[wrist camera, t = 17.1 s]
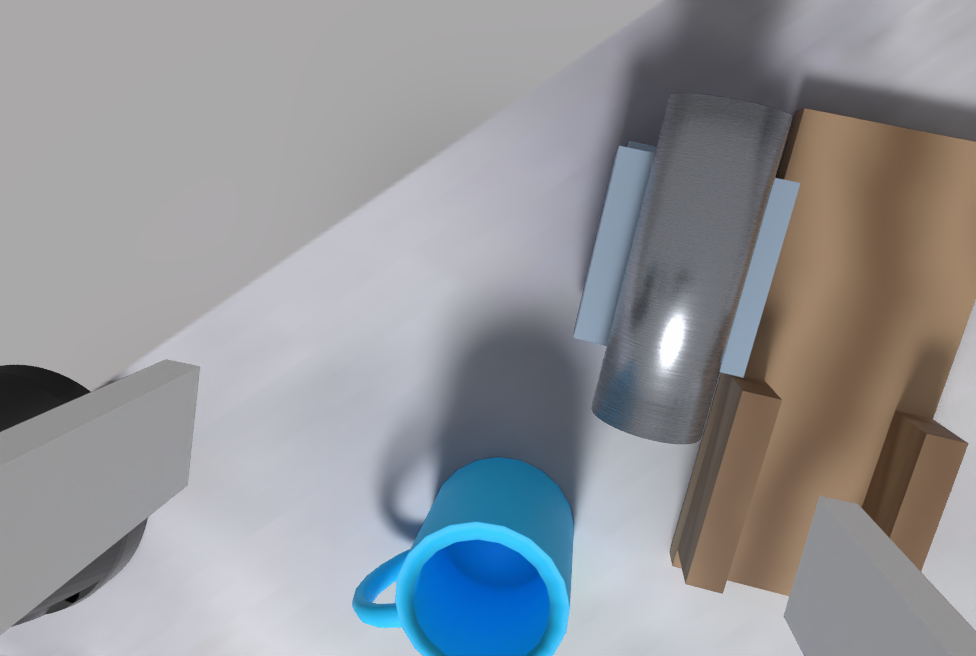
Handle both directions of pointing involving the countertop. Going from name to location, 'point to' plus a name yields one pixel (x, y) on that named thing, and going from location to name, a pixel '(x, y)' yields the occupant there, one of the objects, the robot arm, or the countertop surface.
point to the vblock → (617, 244)
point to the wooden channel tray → (842, 357)
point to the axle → (688, 264)
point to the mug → (482, 567)
